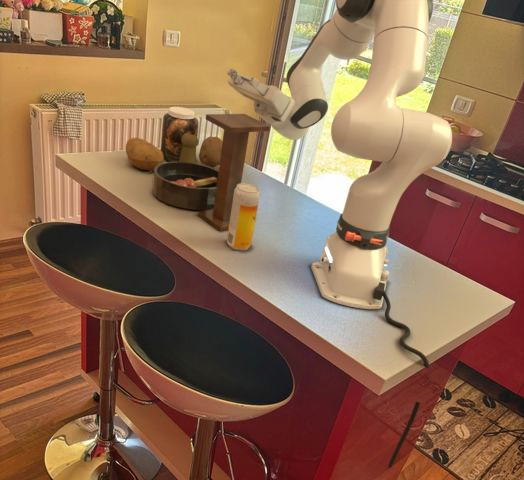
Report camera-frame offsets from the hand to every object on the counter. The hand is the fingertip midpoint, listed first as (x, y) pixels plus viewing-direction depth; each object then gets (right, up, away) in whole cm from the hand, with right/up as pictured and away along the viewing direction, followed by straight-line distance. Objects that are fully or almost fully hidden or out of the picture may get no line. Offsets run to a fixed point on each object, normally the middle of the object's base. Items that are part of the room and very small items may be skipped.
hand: (240, 75), depth 144 cm
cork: (-18, -16, +28) cm, 37 cm away
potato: (-30, -17, +23) cm, 42 cm away
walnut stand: (-5, -38, +2) cm, 38 cm away
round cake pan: (-15, -29, +11) cm, 35 cm away
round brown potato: (-11, -13, +34) cm, 38 cm away
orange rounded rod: (-15, -28, +11) cm, 33 cm away
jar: (-22, -9, +36) cm, 43 cm away
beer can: (0, -47, -8) cm, 48 cm away
